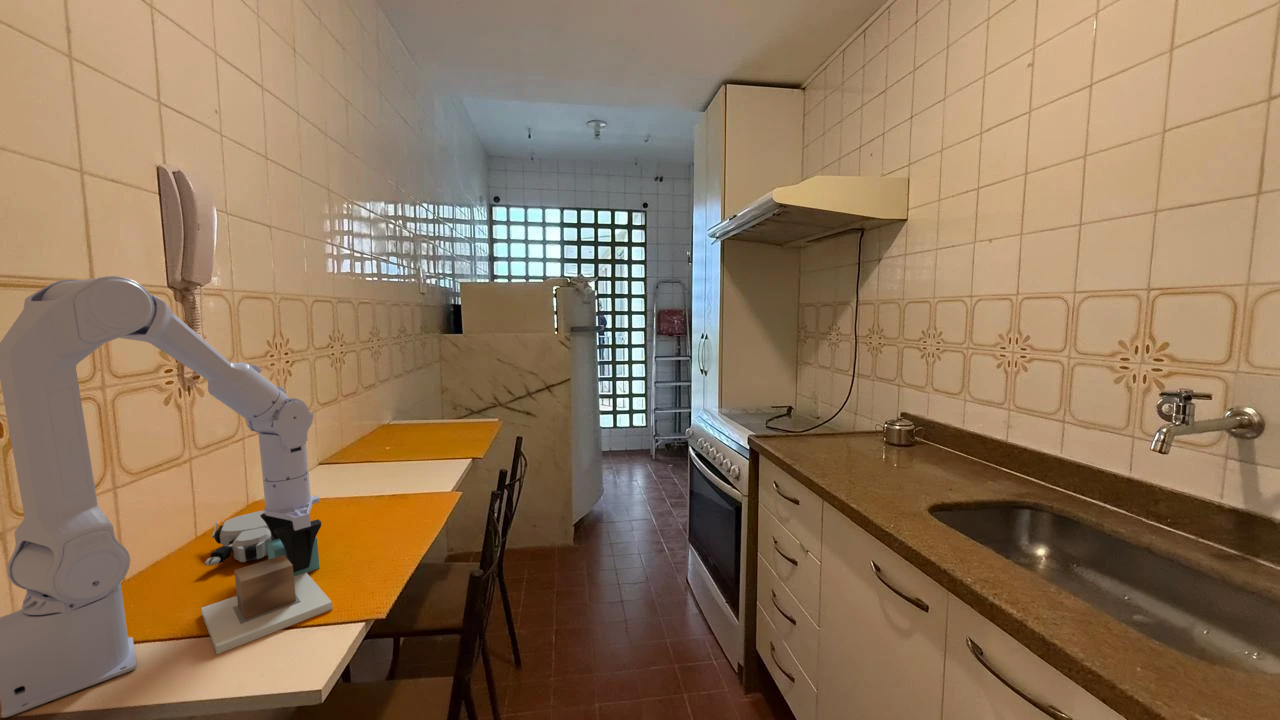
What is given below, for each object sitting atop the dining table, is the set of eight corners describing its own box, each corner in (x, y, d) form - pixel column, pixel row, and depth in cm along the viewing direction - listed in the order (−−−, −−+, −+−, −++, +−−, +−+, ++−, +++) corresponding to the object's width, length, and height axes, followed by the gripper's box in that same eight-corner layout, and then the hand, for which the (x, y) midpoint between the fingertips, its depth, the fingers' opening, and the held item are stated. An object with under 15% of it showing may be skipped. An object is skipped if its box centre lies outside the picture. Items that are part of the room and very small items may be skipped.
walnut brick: (244, 619, 64) (240, 581, 64) (238, 606, 67) (234, 569, 67) (296, 601, 68) (292, 565, 68) (287, 589, 71) (284, 554, 71)
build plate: (217, 654, 59) (216, 645, 59) (202, 614, 67) (201, 606, 67) (332, 609, 68) (332, 601, 68) (306, 578, 76) (306, 571, 76)
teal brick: (277, 583, 75) (274, 550, 75) (270, 573, 78) (266, 541, 78) (319, 568, 79) (316, 537, 79) (311, 559, 82) (308, 530, 82)
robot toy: (298, 561, 84) (301, 523, 96) (296, 535, 83) (299, 501, 96) (201, 583, 77) (218, 540, 90) (198, 556, 77) (215, 516, 89)
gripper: (330, 478, 75) (338, 566, 77) (303, 460, 85) (310, 539, 86) (273, 491, 70) (282, 585, 71) (251, 471, 80) (259, 554, 81)
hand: (294, 561), depth 79 cm, fingers open, 7 cm apart
